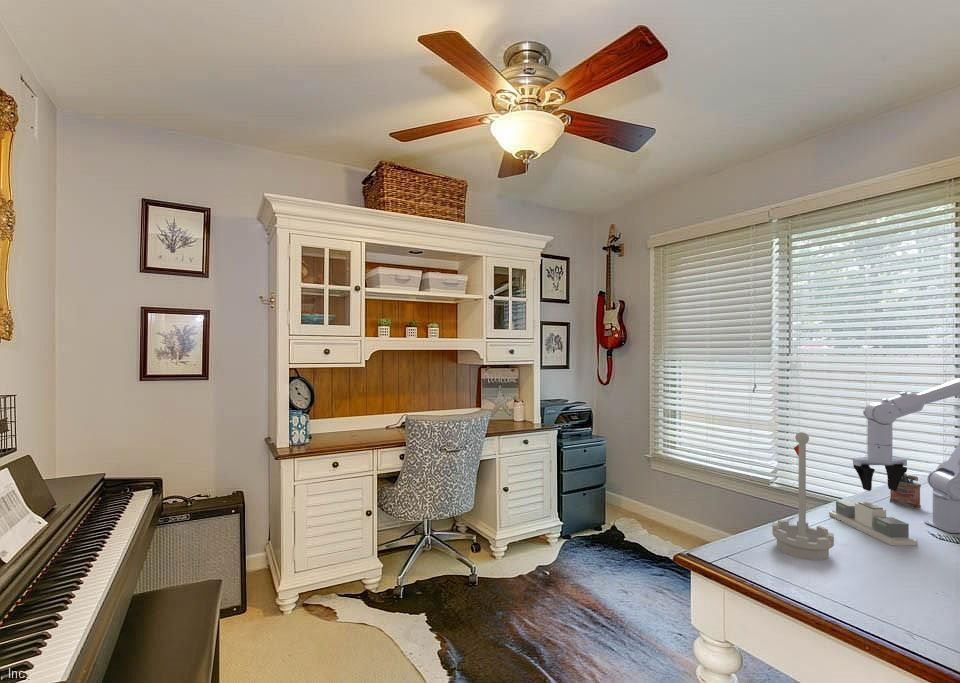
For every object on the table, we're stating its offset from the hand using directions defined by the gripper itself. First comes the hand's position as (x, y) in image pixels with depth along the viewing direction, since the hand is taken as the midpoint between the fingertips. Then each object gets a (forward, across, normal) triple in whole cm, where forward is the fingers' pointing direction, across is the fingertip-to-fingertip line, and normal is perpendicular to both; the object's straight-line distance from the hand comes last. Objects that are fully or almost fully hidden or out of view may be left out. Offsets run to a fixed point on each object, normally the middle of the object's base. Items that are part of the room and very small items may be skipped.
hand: (879, 489), depth 143 cm
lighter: (+10, -21, -15) cm, 28 cm away
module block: (+8, +8, +6) cm, 12 cm away
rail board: (+9, +8, +6) cm, 13 cm away
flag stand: (+10, +36, +19) cm, 42 cm away
